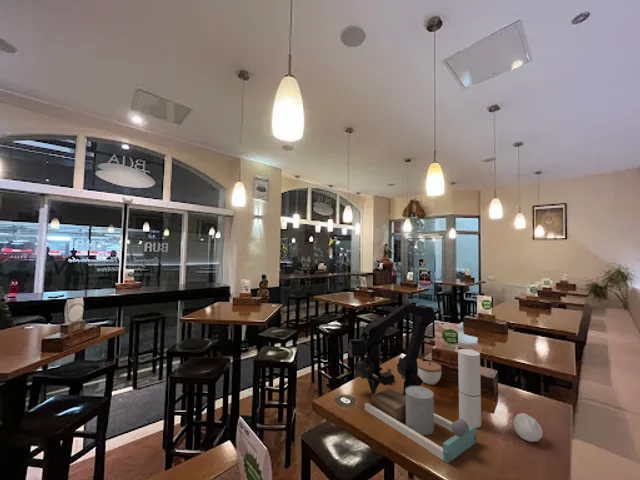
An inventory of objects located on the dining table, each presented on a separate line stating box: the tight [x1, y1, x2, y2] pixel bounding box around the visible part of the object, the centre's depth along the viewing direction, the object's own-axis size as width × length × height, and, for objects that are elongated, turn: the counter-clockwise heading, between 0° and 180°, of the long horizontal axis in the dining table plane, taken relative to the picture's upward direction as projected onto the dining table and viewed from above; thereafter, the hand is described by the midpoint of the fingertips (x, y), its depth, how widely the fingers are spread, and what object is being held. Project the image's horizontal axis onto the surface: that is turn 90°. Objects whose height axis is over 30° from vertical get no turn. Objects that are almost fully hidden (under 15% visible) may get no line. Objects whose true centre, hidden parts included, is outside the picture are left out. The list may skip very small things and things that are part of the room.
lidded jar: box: [417, 360, 442, 385], centre depth 138 cm, size 11×11×9 cm
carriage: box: [371, 387, 406, 423], centre depth 111 cm, size 11×12×5 cm
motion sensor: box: [513, 412, 544, 443], centre depth 95 cm, size 8×8×8 cm
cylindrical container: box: [457, 348, 482, 429], centre depth 105 cm, size 7×7×25 cm
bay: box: [364, 402, 477, 464], centre depth 102 cm, size 16×36×9 cm, turn 35°
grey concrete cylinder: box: [405, 385, 435, 436], centre depth 102 cm, size 10×10×12 cm
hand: (373, 393), depth 120 cm, fingers closed
